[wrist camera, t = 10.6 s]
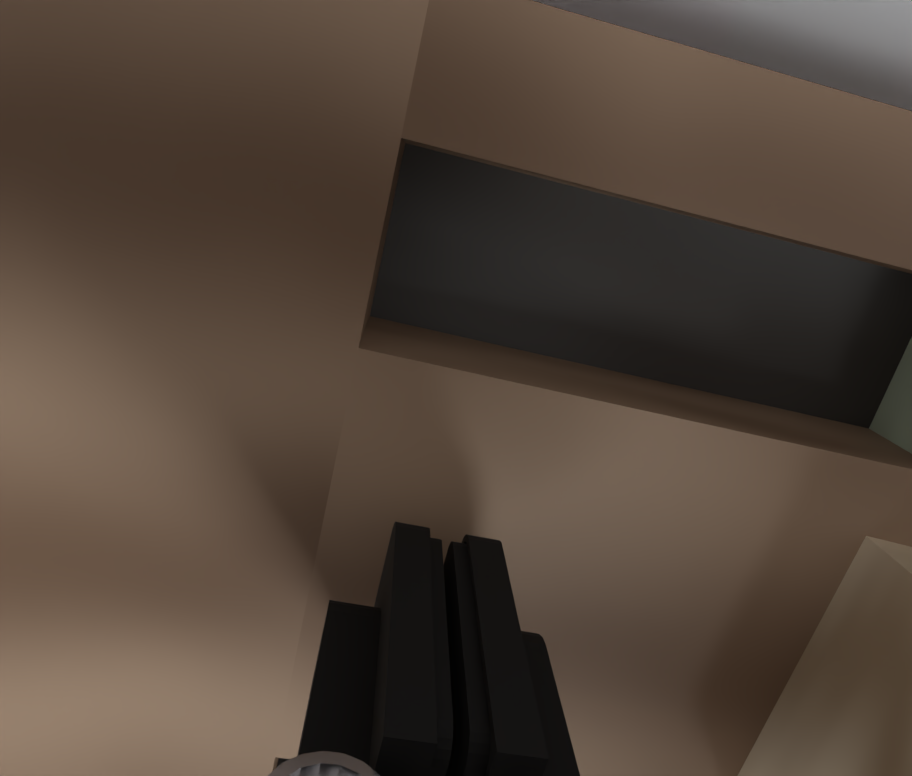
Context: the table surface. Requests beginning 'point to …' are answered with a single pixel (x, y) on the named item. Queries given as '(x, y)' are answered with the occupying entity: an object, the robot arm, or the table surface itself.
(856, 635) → the birch block
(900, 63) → the table surface
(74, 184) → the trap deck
